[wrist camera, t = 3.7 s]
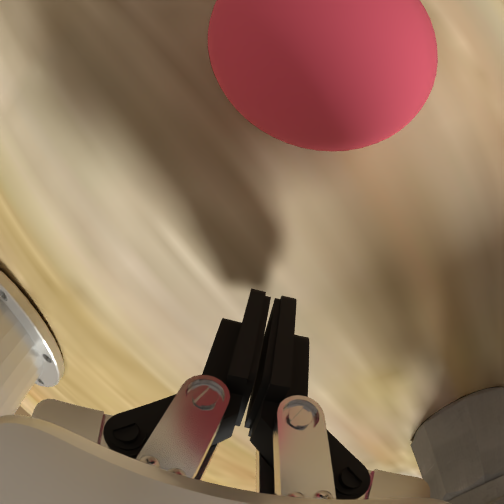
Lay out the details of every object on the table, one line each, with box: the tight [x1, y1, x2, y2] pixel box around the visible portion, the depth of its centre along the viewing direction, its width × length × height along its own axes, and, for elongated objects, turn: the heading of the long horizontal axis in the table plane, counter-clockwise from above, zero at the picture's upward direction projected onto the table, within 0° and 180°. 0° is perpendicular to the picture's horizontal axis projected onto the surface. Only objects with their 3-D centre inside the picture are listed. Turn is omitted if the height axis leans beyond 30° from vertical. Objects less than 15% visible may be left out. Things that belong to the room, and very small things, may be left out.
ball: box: [208, 0, 438, 151], centre depth 6 cm, size 6×6×6 cm
